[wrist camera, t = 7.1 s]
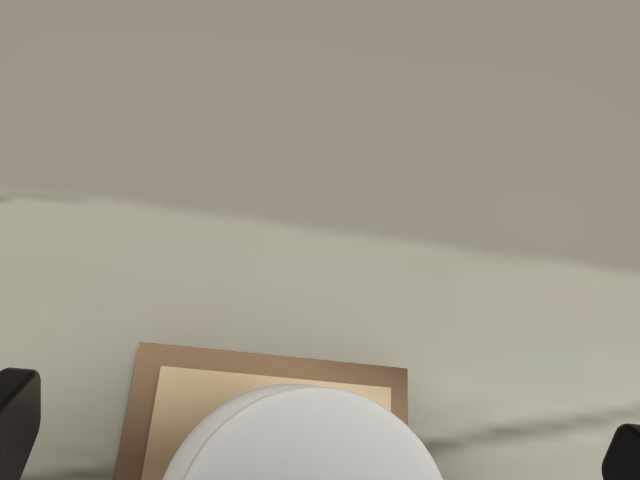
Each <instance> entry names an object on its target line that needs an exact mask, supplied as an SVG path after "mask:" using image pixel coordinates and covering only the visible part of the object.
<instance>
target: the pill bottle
mask: <svg viewBox="0 0 640 480" xmlns="http://www.w3.org/2000/svg"><path fill="white" fill-rule="evenodd" d="M163 480H443V478H442V476H441V473H440V471H439V469H438V467H437V465H436V463H435V462H434V460H433V458H432V457H431V455H430V453H429V452H428V450H427V449H426V447H425V446H424V444H423V443H422V442H421V440H420V439H419V438H418V437H417V436H416V435H415V433H414V432H413V431H412V430H411V429H410V428H409V427H408V426H407V425H406V424H405V423H404V422H403V421H402V420H401V419H399V418H398V417H397V416H395V415H394V414H393V413H392V412H390V411H389V410H388V409H386V408H385V407H383V406H381V405H380V404H378V403H376V402H374V401H372V400H370V399H368V398H366V397H364V396H361V395H359V394H356V393H353V392H349V391H346V390H342V389H336V388H329V387H321V386H314V385H307V384H278V385H270V386H266V387H261V388H258V389H255V390H252V391H249V392H246V393H244V394H241V395H239V396H237V397H235V398H233V399H231V400H229V401H228V402H226V403H225V404H223V405H221V406H220V407H218V408H217V409H215V410H214V411H213V412H212V413H210V414H209V415H208V416H207V417H206V418H204V419H203V420H202V421H201V422H200V423H199V424H198V425H197V426H196V427H195V428H194V429H193V430H192V431H191V433H190V434H189V435H188V436H187V437H186V439H185V440H184V442H183V443H182V444H181V446H180V447H179V449H178V450H177V452H176V453H175V455H174V456H173V458H172V460H171V462H170V464H169V466H168V468H167V470H166V472H165V475H164V477H163Z"/></svg>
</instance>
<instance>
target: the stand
mask: <svg viewBox="0 0 640 480" xmlns="http://www.w3.org/2000/svg"><path fill="white" fill-rule="evenodd" d="M278 384H307V385H314V386H321V387H329V388H336V389H342V390H346V391H349V392H353V393H356V394H359V395H361V396H364V397H366V398H368V399H370V400H372V401H374V402H376V403H378V404H380V405H381V406H383V407H385V408H386V409H388V410H389V411H390V412H392V413H393V414H394V415H395V416H397V417H398V418H399V419H401V420H402V421H403V422H404V423H405V424H406V425H407V426H408V402H407V369H405V368H395V367H385V366H375V365H365V364H355V363H345V362H335V361H325V360H315V359H305V358H295V357H285V356H275V355H265V354H255V353H245V352H235V351H225V350H215V349H205V348H195V347H185V346H175V345H165V344H155V343H145V342H140V344H139V349H138V354H137V359H136V365H135V370H134V375H133V380H132V385H131V390H130V396H129V401H128V406H127V411H126V416H125V421H124V427H123V432H122V437H121V442H120V447H119V453H118V458H117V463H116V468H115V473H114V478H113V480H163V477H164V475H165V472H166V470H167V468H168V466H169V464H170V462H171V460H172V458H173V456H174V455H175V453H176V452H177V450H178V449H179V447H180V446H181V444H182V443H183V442H184V440H185V439H186V437H187V436H188V435H189V434H190V433H191V431H192V430H193V429H194V428H195V427H196V426H197V425H198V424H199V423H200V422H201V421H202V420H203V419H204V418H206V417H207V416H208V415H209V414H210V413H212V412H213V411H214V410H215V409H217V408H218V407H220V406H221V405H223V404H225V403H226V402H228V401H229V400H231V399H233V398H235V397H237V396H239V395H241V394H244V393H246V392H249V391H252V390H255V389H258V388H261V387H266V386H270V385H278Z"/></svg>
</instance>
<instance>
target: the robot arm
mask: <svg viewBox="0 0 640 480" xmlns="http://www.w3.org/2000/svg"><path fill="white" fill-rule="evenodd" d="M40 418H41V381H40V375H39V373H38V372H37V371H36V370H31V369H21V368H6V369H4V370H2V371H0V480H20V478H21V475H22V473H23V470H24V468H25V465H26V463H27V460H28V457H29V455H30V452H31V450H32V447H33V445H34V442H35V439H36V437H37V434H38V430H39V426H40ZM602 476H603V479H604V480H640V425H637V424H623V425H621V426H619V427H618V428H617V430H616V432H615V434H614V436H613V439H612V441H611V443H610V446H609V448H608V450H607V453H606V455H605V457H604V460H603V463H602Z"/></svg>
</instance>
